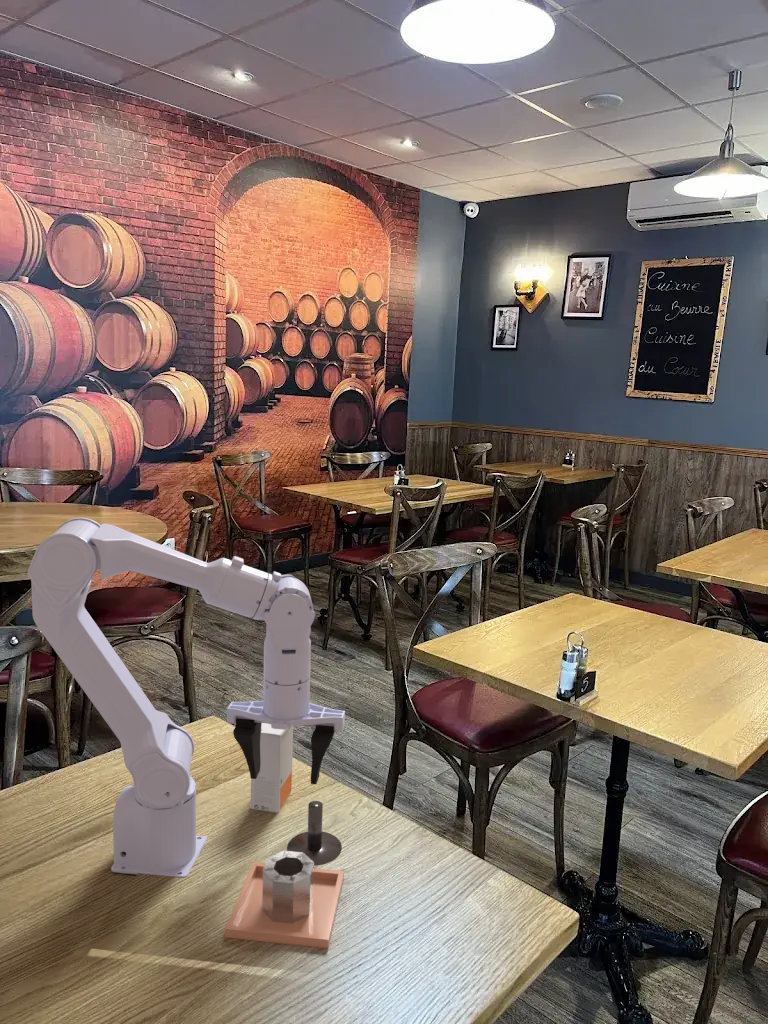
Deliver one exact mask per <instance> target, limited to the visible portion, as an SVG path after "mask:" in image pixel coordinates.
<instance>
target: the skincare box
mask: <svg viewBox="0 0 768 1024" xmlns="http://www.w3.org/2000/svg"><path fill="white" fill-rule="evenodd" d="M293 745H294V726H289V727H288V728H287V729H284V730H283V729H273V728H271V724H267V723H262V725H261V736H260V760H261V764H260V772H259V774H258V776H257V778H256V779H251V778H250V809H251V810H259V811H264V812H272V813H275V814H276V813H280V811H281V809H282V807H283V805H284V804H285V802H286V801H287V799H288V797H289V795H290V794H291V792H292V785H293V784H292V783H293V754H294V753H293V751H294V749H293V747H294V746H293Z"/></svg>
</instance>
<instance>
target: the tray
mask: <svg viewBox="0 0 768 1024" xmlns="http://www.w3.org/2000/svg"><path fill="white" fill-rule="evenodd" d="M265 863H266V862H265ZM265 863H264V862H263V863H262V862H254V861H253V862H252V864H251V866H250V869H249V871H248V873H247V876H246V878H245V881H244V883H243V886H242V888H241V889H240V892H239V895H238V896H237V900H236V902H235V905H234V907H233V909H232V912H231V914H230V917H229V919H228V921H227V924H226V926H225V929H224V935H225V936H224V938H227V939H236V940H237V939H238V940H244V941H245V940H247V941H255V942H256V941H257V942H264V943H272V944H273V943H274V944H284V945H293V946H301V947H310V948H321V949H327V950H328V949H329V948H330V942H331V938H332V934H333V929H334V924H335V920H336V916H337V911H338V907H339V904H340V903H339V901H340V899H341V898H340V897H341V893H342V888H343V884H344V881H345V871H343V870H333V869H327V868H326V869H325V868H315V867H314V886H313V904H312V907H311V911H310V915H308V916H307V917H305V918H303V919H301V920H299V921H297V922H295V923H292V924H291V923H282V922H273V921H272V920H271V919H270V918H269V917H268V916H267V915H266V914H265V913H264V911H263V910H262V894H263V869H264V866H265Z"/></svg>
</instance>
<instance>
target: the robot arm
mask: <svg viewBox="0 0 768 1024" xmlns="http://www.w3.org/2000/svg"><path fill="white" fill-rule="evenodd" d="M244 561H245V560H244V558H242V557H239V556H237V555H234V556H232V558H231V559H228V558H226V557H220V558H218V559H216V560H213V561H210V562H205V561H204V560H201V559H200V558H199V559H198V558H195V557H193V556H191V555H188V554H186V553H183V552H181V551H178V550H176V549H173V548H171V547H168V546H165V545H163V544H161V543H158V542H155V541H153V540H150V539H148V538H145V537H143V536H140V535H138V534H136V533H133V532H131V531H127V530H125V529H123V528H122V527H118V526H116V525H115V524H109V523H102V524H100V523H99V522H97V521H95V520H94V519H91V518H87V517H73V518H70V519H68V520H66V521H64V522H62V523H61V524H60V525H59V526H58V528H57V530H55V532H54V533H52V534H51V535H49V536H47V537H46V538H45V539H43V540H42V541H41V542H40V543H39V544H38V546H37V548H36V550H35V552H34V555H33V557H32V559H31V562H30V565H29V567H28V570H27V575H28V577H29V579H30V581H31V583H30V584H31V603H32V604H31V606H32V608H31V609H32V619H33V621H34V623H35V625H36V627H37V628H38V630H39V631H40V632H41V634H42V635H43V637H44V638H45V639H46V641H48V643H49V644H50V646H51V647H52V648H53V650H54V652H55V653H56V654H57V656H58V657H59V658H60V660H61V661H62V662H63V664H64V666H65V667H66V668H67V670H68V671H69V673H70V674H71V675H72V677H73V678H74V679H75V681H76V682H77V683H78V685H79V686H80V688H81V689H82V690H83V692H84V693H85V694H86V696H87V698H88V699H89V700H90V701H91V703H92V704H93V706H94V707H95V708H96V710H97V711H98V713H99V714H100V715H101V717H102V718H103V719H104V721H105V722H106V723H107V725H108V727H109V728H110V729H111V731H112V732H113V734H114V735H115V736H116V738H117V739H118V740H119V742H120V746H121V751H122V757H123V761H124V765H125V768H126V770H128V772H129V773H130V775H131V777H132V781H133V785H127V786H125V787H123V789H122V790H121V791H120V793H119V795H118V796H117V797H118V798H117V799H116V802H115V805H114V810H113V817H112V832H113V833H112V836H113V837H112V838H113V839H112V840H113V843H112V845H113V864H112V866H111V867H110V869H111V872H112V873H116V874H117V873H119V874H130V875H138V874H145V875H153V876H155V875H156V876H164V877H165V876H166V877H173V878H174V877H175V878H183V879H184V878H186V877H188V876H189V874H190V872H191V871H192V868H193V867H194V865H195V863H196V861H197V859H198V857H199V856H200V853H201V852H202V850H203V848H204V846H205V844H206V842H207V841H208V837H207V836H204V835H197V784H196V781H195V780H194V778H193V777H192V775H191V766H192V758H193V754H194V753H195V742H194V739H193V737H192V735H191V733H190V732H189V731H187V730H186V728H184V727H181V726H179V725H177V723H174V722H173V720H171V718H170V717H169V715H168V714H167V712H163V711H160V710H157V709H156V708H155V707H154V705H153V704H152V702H151V701H150V699H149V698H148V696H147V695H146V693H145V692H144V691H143V689H142V687H141V686H140V684H138V683H137V681H136V679H135V678H134V676H133V675H132V673H131V672H130V670H129V669H128V668H127V667H126V664H124V662H123V660H122V659H121V658H120V656H119V654H118V653H117V652H116V651H115V649H114V647H113V646H112V645H111V643H110V641H108V638H107V637H106V636H105V635H104V633H103V631H102V630H101V629H100V627H99V626H98V624H97V623H96V622H95V620H94V619H93V618H92V616H91V615H90V613H89V612H88V611H87V609H86V607H85V603H86V600H87V596H88V593H89V590H90V586H91V585H92V584H91V583H92V579H93V576H94V575H95V573H96V572H97V571H98V570H100V575H99V576H100V577H99V578H100V580H105V579H108V578H112V577H114V576H117V575H121V574H124V573H126V572H135V573H138V574H141V575H145V576H149V577H151V578H156V579H159V580H163V581H167V582H170V583H174V584H177V585H180V586H184V587H188V588H192V589H194V590H198V591H199V593H200V594H201V596H202V599H203V600H204V603H206V604H207V605H210V606H213V607H216V608H219V609H221V610H225V611H227V612H232V613H234V614H237V615H239V616H240V615H241V616H242V617H246V618H249V619H252V620H255V621H264V622H265V624H266V626H265V628H266V631H265V632H266V634H265V638H264V640H263V641H264V642H263V676H262V677H263V685H262V686H263V687H262V689H263V691H262V692H263V693H262V694H263V697H262V700H255V701H231V702H230V703H229V705H228V707H227V708H226V714H227V715H226V722H227V723H229V724H235V725H234V726H235V727H234V729H233V732H232V733H233V734H232V735H233V738H234V739H235V741H236V742H237V743H238V745H239V747H240V749H241V751H242V752H243V753H242V754H243V755H244V758H245V761H246V763H247V767H248V768H247V769H248V771H249V776H250V780H251V779H256V778H257V776H258V774H259V772H260V764H261V760H260V736H261V725H262V723H267V724H271V728H273V729H283V730H284V729H287V728H288V727H289V726H293V727H307V728H314V730H313V733H312V735H311V737H310V743H311V744H310V746H311V772H310V785H318V784H317V783H318V782H319V778H320V773H321V766H322V763H323V758H324V757H325V754H326V752H327V750H328V748H329V747H330V745H331V744H332V740H333V738H334V736H335V732H336V733H337V732H338V733H343V730H344V728H345V726H346V725H345V723H346V722H345V721H346V710H340V709H335V708H334V709H333V708H329V707H325V706H321V705H317V704H314V703H310V697H311V696H310V695H311V694H310V693H311V692H310V691H311V690H310V689H311V655H312V654H311V653H312V652H311V651H312V650H311V649H312V640H311V638H310V635H311V633H312V630H311V629H312V628H311V627H312V625H313V623H314V621H315V617H316V612H315V611H314V610H315V609H314V604H313V602H312V597H311V593H310V590H309V589H308V587H307V585H306V584H305V583H304V582H303V581H301V580H300V579H299V578H297V577H295V576H294V575H292V574H282V573H280V572H277V571H275V570H274V571H273V572H272V573H270V572H266V571H263V570H260V569H257V568H254V567H252V566H248V565H246V564H245V562H244Z"/></svg>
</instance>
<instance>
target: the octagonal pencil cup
mask: <svg viewBox="0 0 768 1024" xmlns="http://www.w3.org/2000/svg"><path fill="white" fill-rule="evenodd" d="M314 868H315V865H314V862H313V861H312V860H311V859H310V858H309V857H308V856H307V855H306V854H304V853H303V852H294V851H287V850H283V851H280V852H278V853H276V854H274V855H270V856H269V857H267V859H266V861H265V866H264V869H263V894H262V910H263V911H264V913H265V914H266V915H267V916H268V917H269V918H270V919H271V920H272V921H273V922H282V923H291V924H292V923H295V922H297V921H299V920H301V919H303V918H305V917H307V916H308V915H310V911H311V907H312V904H313V886H314Z"/></svg>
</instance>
